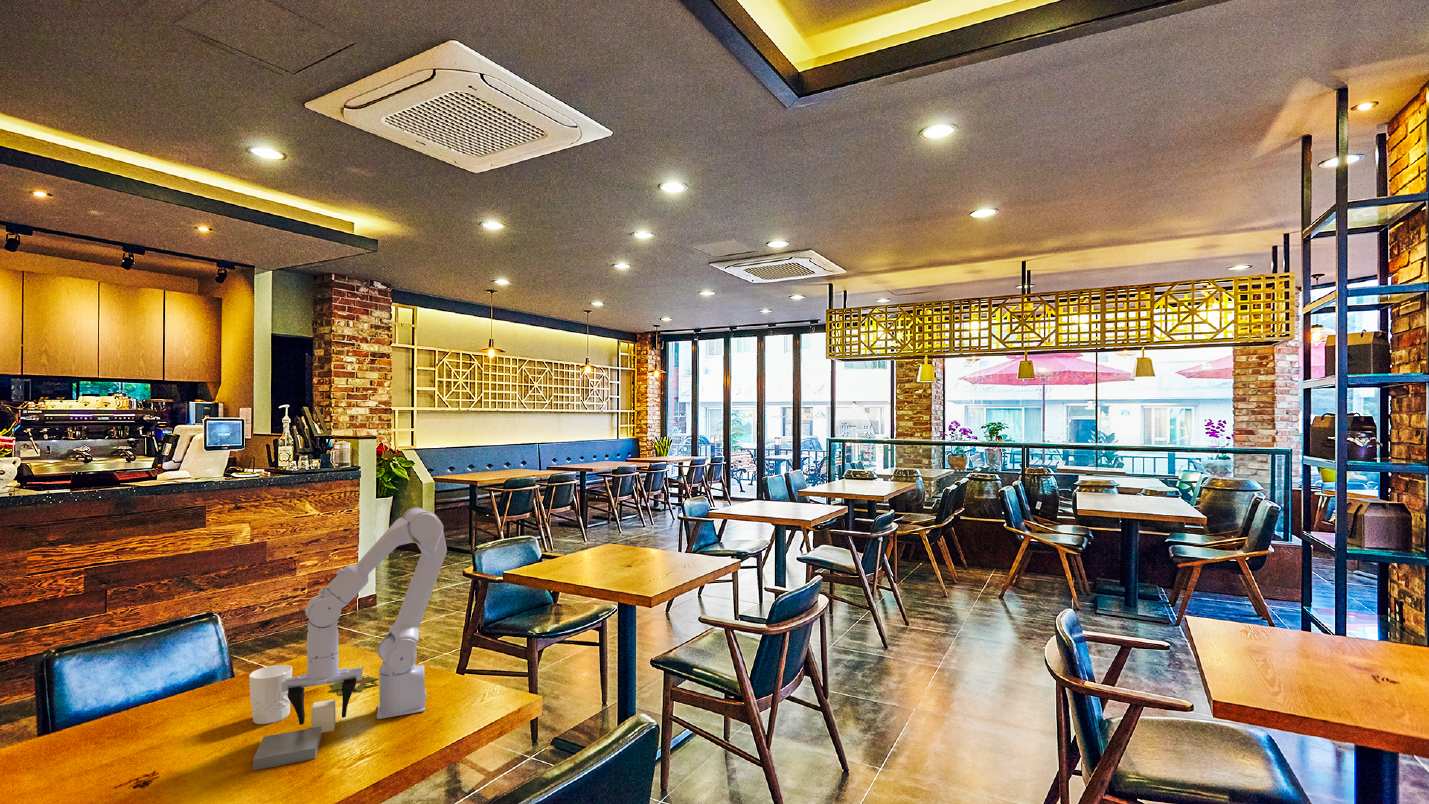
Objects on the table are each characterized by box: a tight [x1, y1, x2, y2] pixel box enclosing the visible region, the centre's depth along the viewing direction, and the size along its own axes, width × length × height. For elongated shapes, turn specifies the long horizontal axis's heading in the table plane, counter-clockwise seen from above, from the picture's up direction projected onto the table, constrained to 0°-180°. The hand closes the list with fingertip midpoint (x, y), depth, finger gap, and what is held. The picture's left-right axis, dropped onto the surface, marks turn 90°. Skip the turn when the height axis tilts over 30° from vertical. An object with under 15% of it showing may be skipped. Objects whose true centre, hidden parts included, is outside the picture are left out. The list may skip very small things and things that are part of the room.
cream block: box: [310, 698, 337, 734], centre depth 144 cm, size 4×4×5 cm
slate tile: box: [252, 727, 323, 771], centre depth 133 cm, size 10×10×2 cm
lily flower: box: [327, 665, 378, 696], centre depth 166 cm, size 12×12×5 cm
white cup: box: [248, 664, 293, 725], centre depth 149 cm, size 8×8×10 cm
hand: (323, 719), depth 144 cm, fingers open, 7 cm apart
